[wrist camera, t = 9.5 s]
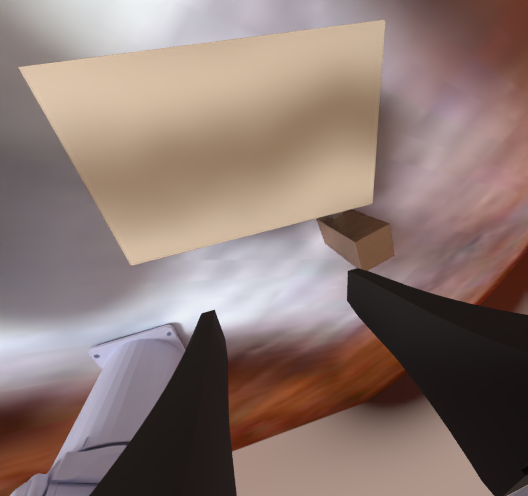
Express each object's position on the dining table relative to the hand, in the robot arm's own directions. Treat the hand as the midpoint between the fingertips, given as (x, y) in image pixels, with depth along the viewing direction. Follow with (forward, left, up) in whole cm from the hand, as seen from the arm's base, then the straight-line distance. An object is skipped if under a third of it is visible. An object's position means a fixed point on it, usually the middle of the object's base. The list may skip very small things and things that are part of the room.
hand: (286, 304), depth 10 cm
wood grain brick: (+4, -7, -10) cm, 12 cm away
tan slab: (+7, 0, -10) cm, 12 cm away
